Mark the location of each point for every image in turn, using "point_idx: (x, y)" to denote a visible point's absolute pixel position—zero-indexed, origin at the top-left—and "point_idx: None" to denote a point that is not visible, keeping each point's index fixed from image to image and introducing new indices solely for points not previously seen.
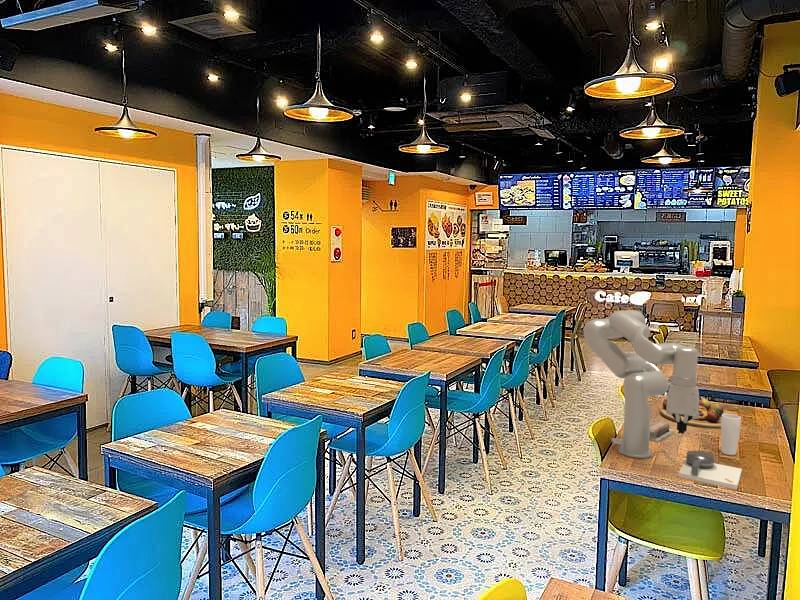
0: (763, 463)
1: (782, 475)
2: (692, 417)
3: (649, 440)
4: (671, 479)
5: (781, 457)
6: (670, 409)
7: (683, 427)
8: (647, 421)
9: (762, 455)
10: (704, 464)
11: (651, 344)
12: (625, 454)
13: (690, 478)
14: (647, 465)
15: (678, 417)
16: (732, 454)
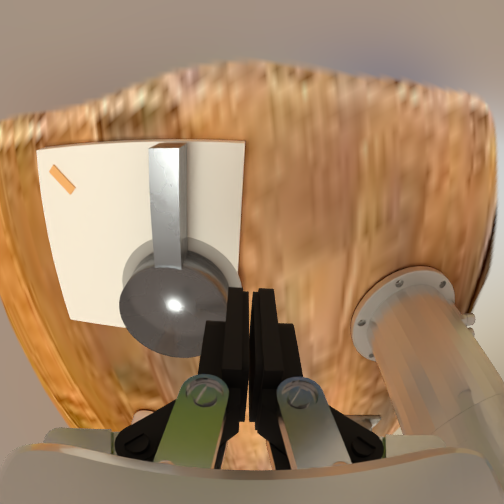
0: (74, 388)
1: (20, 334)
2: (116, 449)
3: (346, 415)
4: (269, 94)
5: (71, 420)
6: (462, 489)
7: (225, 328)
8: (430, 409)
9: (96, 422)
10: (149, 261)
11: None
12: (439, 272)
13: (194, 139)
14: (372, 214)
15: (299, 429)
16: (138, 411)
